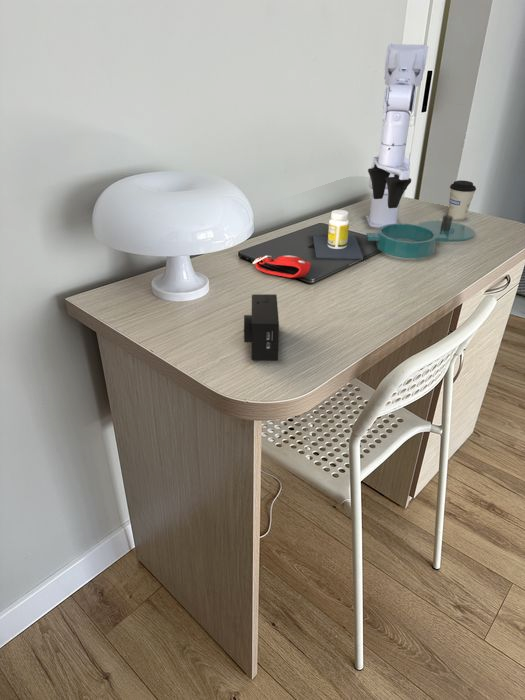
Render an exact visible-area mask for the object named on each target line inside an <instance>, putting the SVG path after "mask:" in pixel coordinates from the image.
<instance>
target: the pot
mask: <svg viewBox="0 0 525 700" xmlns="http://www.w3.org/2000/svg"><path fill="white" fill-rule="evenodd" d="M365 237H366V240H367V241H368V242H369V241H373V242H375V241H376V243H375V246H376V248H377V250H378V251H380V252H382V253H383V254H386V255H389V256H392V257H395V258H402V259H422V258H428V257H429V256H432V255H433V254H434V252H435V249H436V245H437V242H438V243H448V241H447V240H448V237H447V236H446V235H445V234H436V233H435V231H433V230H431V229H429V228H427V227H423V226H419V225H418V224H412V223H399V222H398V223H396V224H388V225H385V226H382V227H379V228H378V230H377V232H366V236H365ZM406 240H408V241H406Z"/></svg>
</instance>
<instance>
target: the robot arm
mask: <svg viewBox="0 0 525 700" xmlns="http://www.w3.org/2000/svg"><path fill="white" fill-rule="evenodd" d="M428 50H429V46H428V45H427V43H424V44H406V43H405V44H404V43H403V44H401V43H400V44H399V43H398V44H397V43H395V44H393V43H389V44H388V45H387V48H386V53H385V61H384V63H385V64H384V77H383V78H384V85H386V87H385V89H384V96H383V105H382V111H383V112H382V122H383V124H382V127H381V128H382V129H381V137H380V144H379V152H378V155H376V156H372V161H371V168H370V167H369V168H368V169H367V172H368V174H369V180H368V181H369V182H368V187H369V188H370V189H371V190H372V194H371V197H370V206H369V214H368V215H365V218H366V220H367V223H368V224H369V226H370V227H371V228H380V227H382V226H385V225H388V224H396V223H399V222H398V216H399V215H398V214H399V208H400V202H401V199H402V197H403V195H404V193H405V191H406V190H407V188H408V186H409V185H410V184H411V183H412V178H410V175H411V173H410V172H411V168H410V165H411V161H410V159H409V158H408V157H407V155H405V154H406V148H407V142H408V136H409V135H408V134H409V130H410V129H409V128H410V123H411V122H410V121H411V115H412V114H413V111H414V109H415V102H416V95H417V87H419V86H420V85H421V83H422V81H423V77H424V72H425V70H426V69H425V68H426V64H427V58H428Z"/></svg>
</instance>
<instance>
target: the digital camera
mask: <svg viewBox="0 0 525 700" xmlns="http://www.w3.org/2000/svg"><path fill="white" fill-rule="evenodd" d="M277 297H278V296H277V294H276V293H275V294H274V293H273V294H271V293H269V294H261V293H260V294H258V293H257V294H256V293H255V294H253V293H252V295H251V314H244V316H243V343H251V361H279V341H280V340H279V339H280V338H279V337H280V336H279V335H280V320H279V308H278V298H277Z"/></svg>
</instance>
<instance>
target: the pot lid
mask: <svg viewBox="0 0 525 700" xmlns="http://www.w3.org/2000/svg"><path fill="white" fill-rule="evenodd" d="M417 225H419V226H423V227H427V228H429V229H431V230H433V231H435V233H436V234H445V235H446V236H447V237H448V240H447V242H464V241H469V240H472V239H473V238H474V236H475V231H474V230H473V228H471V227H469V226H468V225H464V224H461V223H458V222H454V221H453V217H452V216H449V215H448V214H445V215H444V214H443V215H442V220H428V221H423V222H420V223H418V224H417Z"/></svg>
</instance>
